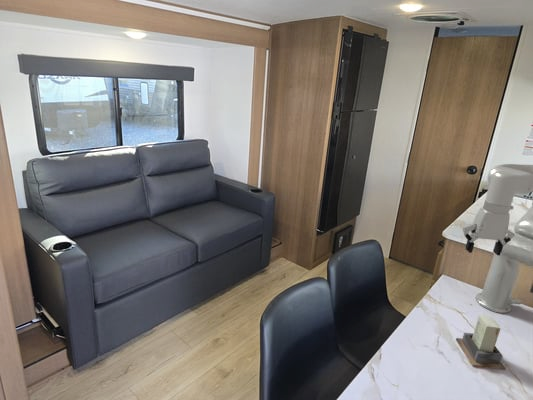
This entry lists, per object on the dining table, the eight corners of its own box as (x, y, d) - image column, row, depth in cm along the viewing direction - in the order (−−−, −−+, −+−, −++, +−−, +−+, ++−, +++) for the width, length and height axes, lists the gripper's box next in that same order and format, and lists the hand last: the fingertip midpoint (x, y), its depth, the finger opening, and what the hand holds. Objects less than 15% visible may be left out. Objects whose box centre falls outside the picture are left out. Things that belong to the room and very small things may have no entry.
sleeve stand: (484, 342, 122) (488, 332, 121) (504, 369, 111) (508, 359, 109) (455, 339, 122) (458, 329, 121) (472, 366, 111) (476, 355, 110)
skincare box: (490, 360, 113) (502, 329, 109) (476, 357, 114) (487, 326, 110) (482, 346, 119) (492, 316, 115) (469, 343, 120) (478, 314, 116)
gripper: (515, 206, 123) (501, 249, 128) (465, 201, 123) (453, 245, 129) (529, 214, 115) (513, 259, 121) (475, 209, 116) (462, 255, 122)
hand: (482, 252), depth 125 cm, fingers open, 9 cm apart
